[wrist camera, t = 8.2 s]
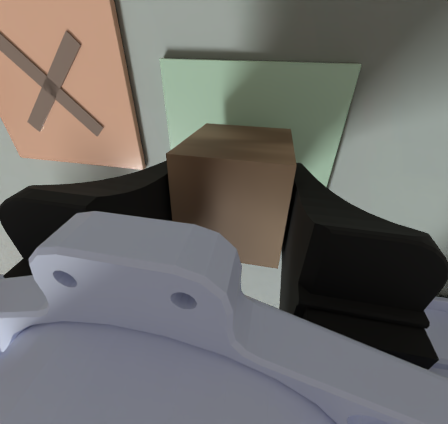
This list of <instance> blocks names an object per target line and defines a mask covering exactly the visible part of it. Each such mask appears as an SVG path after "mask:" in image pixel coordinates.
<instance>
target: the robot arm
mask: <svg viewBox="0 0 448 424" xmlns="http://www.w3.org/2000/svg"><path fill="white" fill-rule="evenodd" d="M296 165H297V166H296V172H295V177H294V183H293V188H292V194H291V199H290V205H289V210H288V216H287V221H286V226H285V232H284V237H283V243H282V248H281V250H282V271H281V290H280V307H279V309H278V308H275V307H273V306H270V305H268V304H266V303H263V302H261V301H258V300H256V299H253V298H251V297H248V296H246V295H244V294H243V293H242V291H241V271H242V265H241V262H240V258H239V255H238V252H237V249H236V248H235V247H234V246H233V245H232V244H231V243H230V242H229V241H228V240H226V239H225V238H224V237H223V236H222V235H221V234H220V233H218V232H215V231H212V230H210V229H207V228H204V227H201V226H198V225H195V224H189V223H181V222H174V221H172V212H171V201H170V190H169V180H168V169H167V161H164V162H162V163H160V164H157V165H154V166H152V167H149V168H146V169H144V170H141V171H138V172H135V173H131V174H127V175H124V176H120V177H115V178H110V179H104V180H99V181H92V182H85V183H75V184H60V185H32V186H28V187H26V188H25V189H23V190H21V191H20V192H18V193H16V194H15V195H13V196H11V197H9V198H8V199H6V200H5V201H4V202H3V203H2V204H1V205H0V221H1V224H2V226H3V228H4V229H5V231H6V233H7V234H8V236H9V237H10V239H11V240H12V242H13V243H14V245H15V246H16V248H17V249H18V251H19V252H20V254H21V255H22V257H23V258H24V259H22V260H21V261H20V262H19V263H18V264H17V265H15V266H14V267H13V268H12V269H11V270H10V271H8V272H7V273H6V274H5V275H2V274H0V424H448V298H443V297H437V296H436V295H437V294H438V293H439V292H440V291H441V289H442V288H443V287H444V285H445V283H446V282H447V280H448V262H447V260H446V257H445V256H444V255H443V253H442V252H441V250H440V249H439V248H438V246H437V245H436V243H435V242H434V241H433V239H432V238H431V236H430V235H429V234H428V233H425V232H421V231H418V230H415V229H412V228H408V227H405V226H402V225H398V224H395V223H393V222H390V221H387V220H385V219H382V218H380V217H377V216H375V215H372V214H370V213H368V212H366V211H364V210H362V209H360V208H358V207H356V206H354V205H352V204H350V203H348V202H347V201H345V200H343V199H342V198H340V197H339V196H337V195H336V194H334V193H333V192H332V191H330V190H329V189H328V188H327V187H325V186H324V185H323V184H322V183H321V182H320V181H318V180H317V179H316V178H315V177H314V176H313V175H312V174H311V173H310V172H309V171H308V170H307V168H306V167H305V166H304V165H303V164H302V163H296Z"/></svg>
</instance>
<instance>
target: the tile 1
mask: <svg viewBox="0 0 448 424" xmlns="http://www.w3.org/2000/svg"><path fill="white" fill-rule="evenodd" d="M0 117H1V119H2V121H3V123H4V125H5V127H6V129H7V131H8V133H9V135H10V137H11V139H12V141H13V143H14V145H15V147H16V149H17V151H18V153H19V155H20V157H23V158H32V159H42V160H52V161H61V162H71V163H81V164H91V165H100V166H110V167H120V168H130V169H139V170H144V169H145V168H146V164H145V159H144V154H143V149H142V144H141V138H140V133H139V128H138V123H137V117H136V112H135V107H134V102H133V97H132V91H131V86H130V81H129V76H128V70H127V65H126V60H125V55H124V49H123V44H122V39H121V34H120V29H119V23H118V18H117V13H116V8H115V2H114V0H0Z"/></svg>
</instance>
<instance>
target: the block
mask: <svg viewBox="0 0 448 424" xmlns="http://www.w3.org/2000/svg"><path fill="white" fill-rule="evenodd" d="M166 159H167V169H168V180H169V190H170V201H171V212H172V221H174V222H181V223H189V224H195V225H198V226H201V227H204V228H207V229H210V230H212V231H215V232H218V233H220V234H221V235H222V236H223V237H224V238H225V239H226V240H228V241H229V242H230V243H231V244H232V245H233V246H234V247H235V248H236V249H237V252H238V255H239V258H240V262H241V263H245V264H252V265H258V266H265V267H271V268H278V265H279V259H280V254H281V248H282V243H283V237H284V232H285V226H286V221H287V216H288V210H289V205H290V199H291V194H292V188H293V183H294V177H295V172H296V166H297V165H296V158H295V152H294V146H293V139H292V133H291V129H284V128H269V127H254V126H239V125H225V124H210V123H206V124H205V125H204V126H202V127H201V128H200V129H198V130H197V131H196V132H194V133H193V134H192V135H190V136H189V137H188V138H186V139H185V140H184V141H182V142H181V143H180V144H178V145H177V146H176V147H174V148H173V149H172V150H170V151H169V152H168V153H166Z"/></svg>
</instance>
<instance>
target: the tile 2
mask: <svg viewBox="0 0 448 424" xmlns="http://www.w3.org/2000/svg"><path fill="white" fill-rule="evenodd" d="M159 60H160V68H161V76H162V84H163V92H164V100H165V109H166V117H167V125H168V133H169V141H170V149H171V150H172V149H173V148H174V147H176V146H177V145H178V144H180V143H181V142H182V141H184V140H185V139H186V138H188V137H189V136H190V135H192V134H193V133H194V132H196V131H197V130H198V129H200V128H201V127H202V126H204V125H205V124H206V123H210V124H225V125H239V126H254V127H269V128H284V129H291V133H292V139H293V146H294V152H295V158H296V163H302V164H303V165H304V166H305V167H306V168H307V170H308V171H309V172H310V173H311V174H312V175H313V176H314V177H315V178H316V179H317V180H318V181H320V182H321V183H322V184H323V185H324V186H325V187H327V184H328V180H329V177H330V173H331V170H332V166H333V163H334V159H335V156H336V152H337V149H338V145H339V142H340V138H341V135H342V131H343V128H344V124H345V121H346V118H347V114H348V111H349V107H350V104H351V100H352V97H353V93H354V90H355V86H356V83H357V79H358V76H359V72H360V69H361V64H354V63H318V62H282V61H247V60H211V59H175V58H161V59H159Z"/></svg>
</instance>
